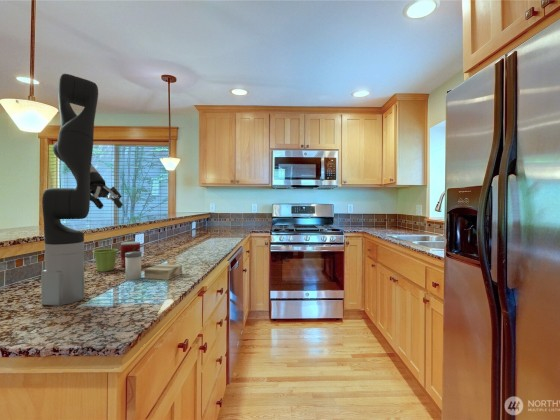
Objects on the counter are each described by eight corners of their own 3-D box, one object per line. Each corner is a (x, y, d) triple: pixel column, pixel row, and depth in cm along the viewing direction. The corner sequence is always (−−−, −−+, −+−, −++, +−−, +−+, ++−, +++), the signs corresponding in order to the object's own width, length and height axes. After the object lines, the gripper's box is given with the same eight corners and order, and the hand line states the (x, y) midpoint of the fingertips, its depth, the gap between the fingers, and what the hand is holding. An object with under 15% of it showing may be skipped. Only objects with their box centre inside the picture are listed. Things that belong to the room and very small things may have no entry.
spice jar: (134, 280, 105) (134, 254, 105) (121, 279, 106) (121, 253, 106) (144, 277, 111) (144, 251, 110) (132, 276, 112) (132, 251, 112)
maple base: (167, 279, 107) (167, 270, 107) (144, 278, 109) (144, 269, 109) (181, 273, 117) (181, 265, 116) (160, 272, 118) (160, 263, 118)
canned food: (134, 268, 125) (134, 243, 125) (117, 268, 126) (116, 243, 125) (143, 264, 133) (143, 241, 133) (126, 264, 133) (126, 241, 133)
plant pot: (96, 268, 125) (96, 249, 124) (120, 267, 127) (120, 248, 127) (89, 273, 116) (89, 252, 115) (115, 272, 118) (114, 251, 118)
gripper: (77, 169, 106) (99, 200, 103) (110, 172, 120) (131, 200, 117) (67, 183, 108) (89, 214, 105) (101, 185, 122) (121, 212, 119)
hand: (111, 207), depth 111 cm, fingers open, 8 cm apart
